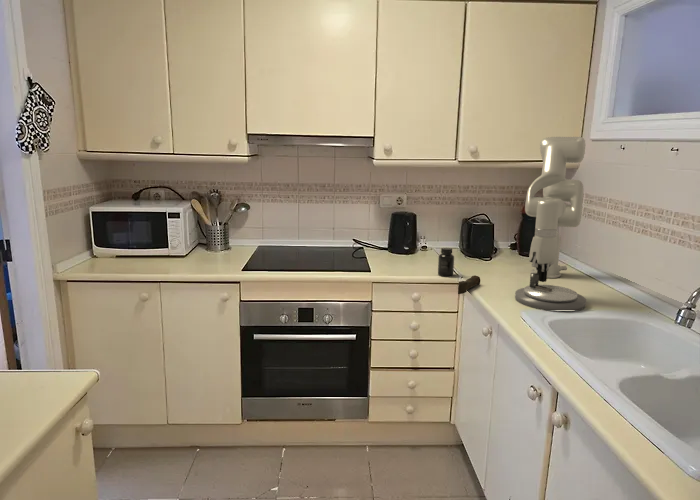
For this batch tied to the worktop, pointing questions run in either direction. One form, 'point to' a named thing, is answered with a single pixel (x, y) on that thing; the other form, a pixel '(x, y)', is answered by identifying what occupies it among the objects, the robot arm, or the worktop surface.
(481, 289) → the worktop surface
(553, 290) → the dial
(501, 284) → the worktop surface
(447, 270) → the supplement bottle
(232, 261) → the worktop surface
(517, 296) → the dial base
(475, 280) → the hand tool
